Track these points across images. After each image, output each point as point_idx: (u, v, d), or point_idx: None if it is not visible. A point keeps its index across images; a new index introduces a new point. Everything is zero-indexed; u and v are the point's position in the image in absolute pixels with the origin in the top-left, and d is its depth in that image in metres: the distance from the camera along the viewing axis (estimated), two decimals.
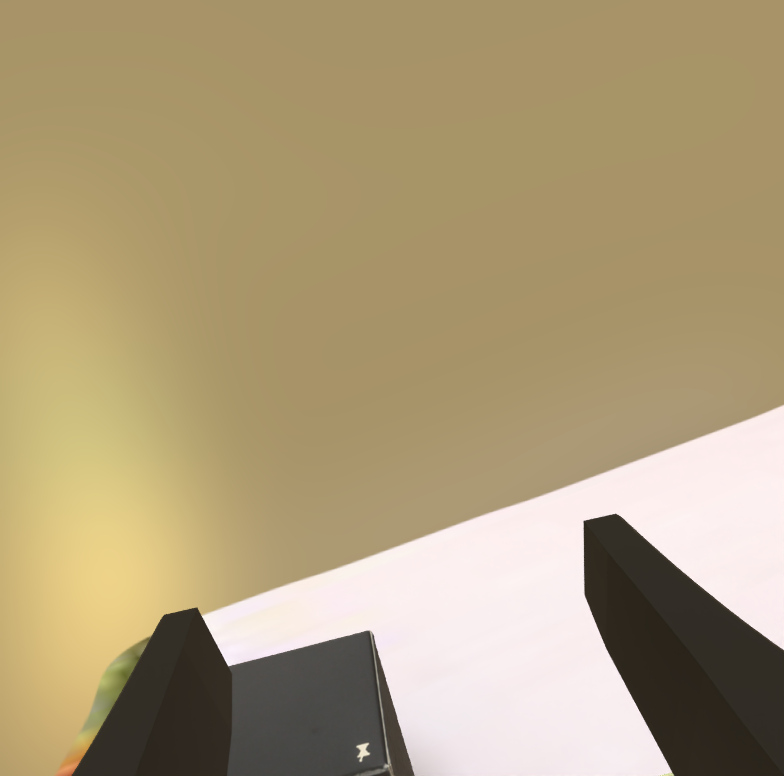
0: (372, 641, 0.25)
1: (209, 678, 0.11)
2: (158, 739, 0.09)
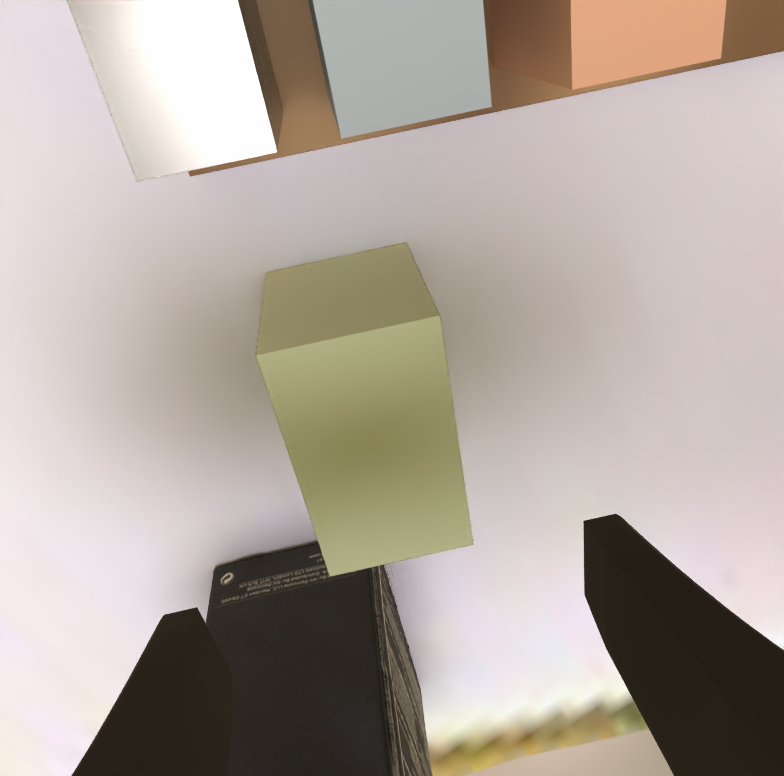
0: None
1: (209, 678, 0.11)
2: (157, 739, 0.09)
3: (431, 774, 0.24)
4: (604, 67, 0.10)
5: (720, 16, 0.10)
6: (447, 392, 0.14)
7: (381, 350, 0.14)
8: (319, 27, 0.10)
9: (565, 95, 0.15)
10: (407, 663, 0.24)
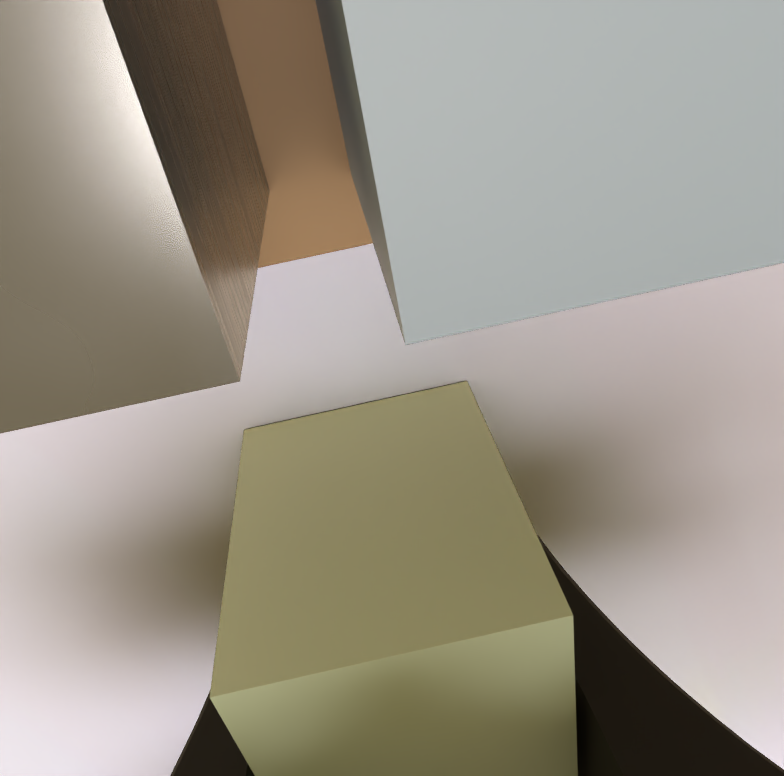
0: None
1: None
2: None
3: None
4: None
5: None
6: (569, 717, 0.08)
7: (454, 672, 0.07)
8: (357, 66, 0.03)
9: None
10: None
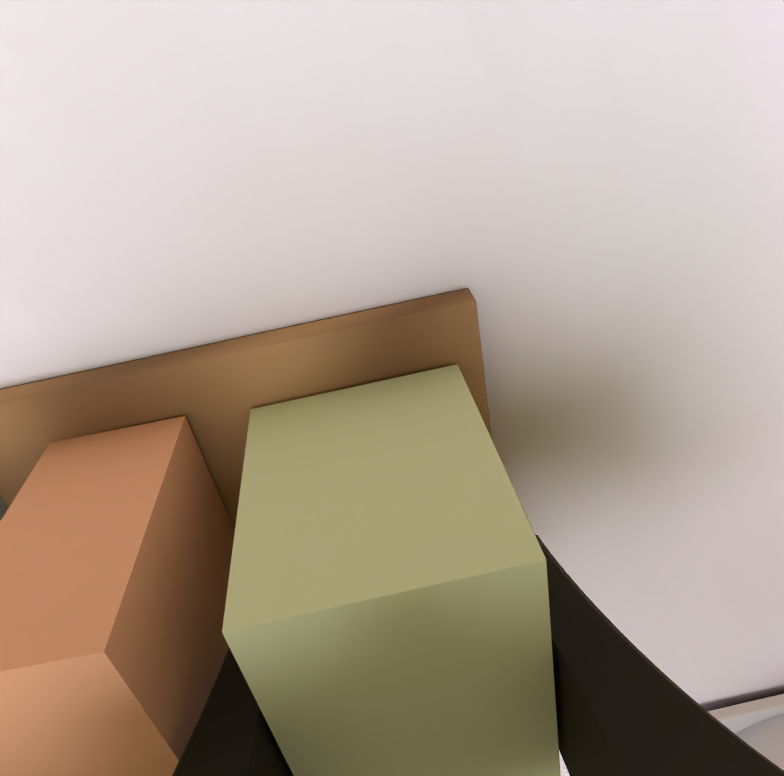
0: None
1: None
2: None
3: None
4: None
5: None
6: (546, 660, 0.09)
7: (441, 612, 0.08)
8: None
9: None
10: None
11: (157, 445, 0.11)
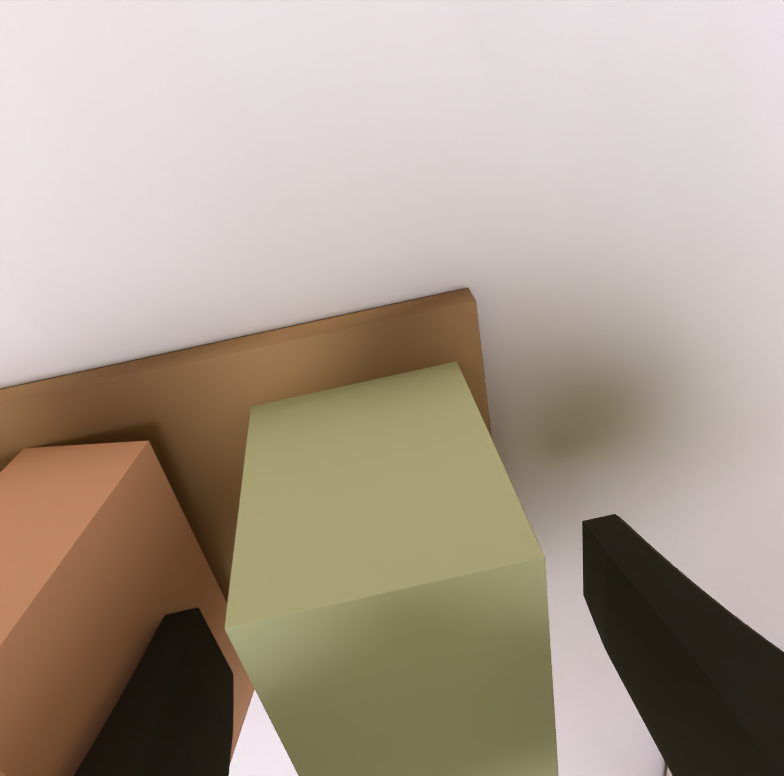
0: None
1: (210, 678, 0.11)
2: (159, 739, 0.09)
3: None
4: None
5: None
6: (545, 655, 0.09)
7: (440, 608, 0.08)
8: None
9: None
10: None
11: (109, 471, 0.11)
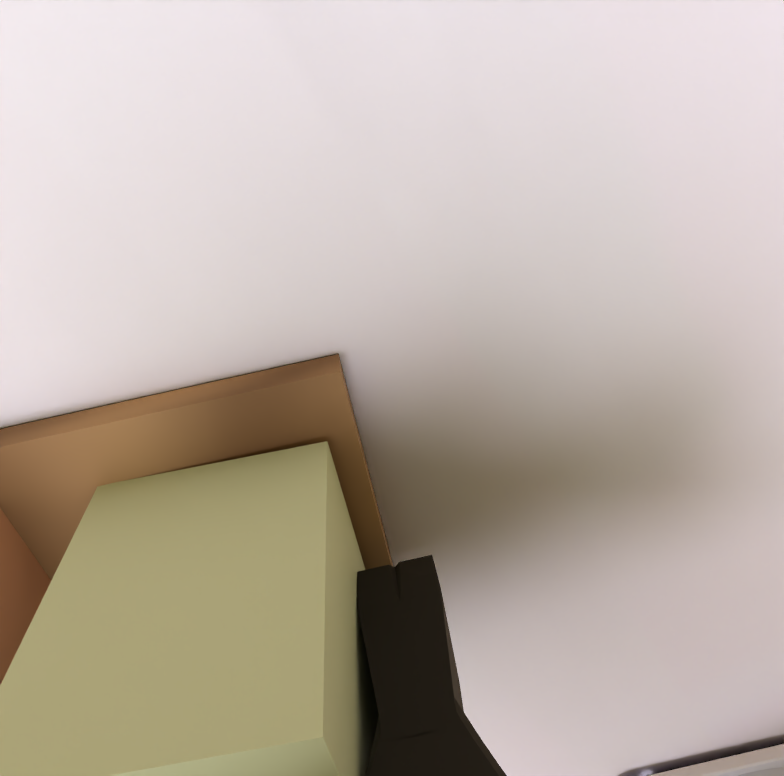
0: None
1: None
2: (452, 672, 0.09)
3: None
4: None
5: None
6: None
7: None
8: None
9: None
10: None
11: None
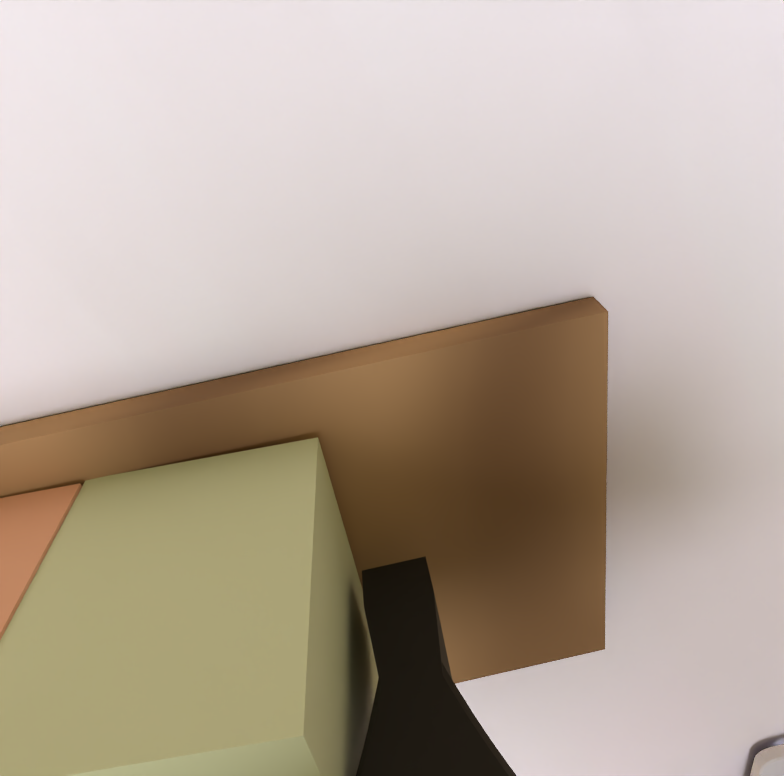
0: None
1: None
2: (443, 674, 0.09)
3: None
4: None
5: None
6: None
7: None
8: None
9: None
10: None
11: (41, 522, 0.10)
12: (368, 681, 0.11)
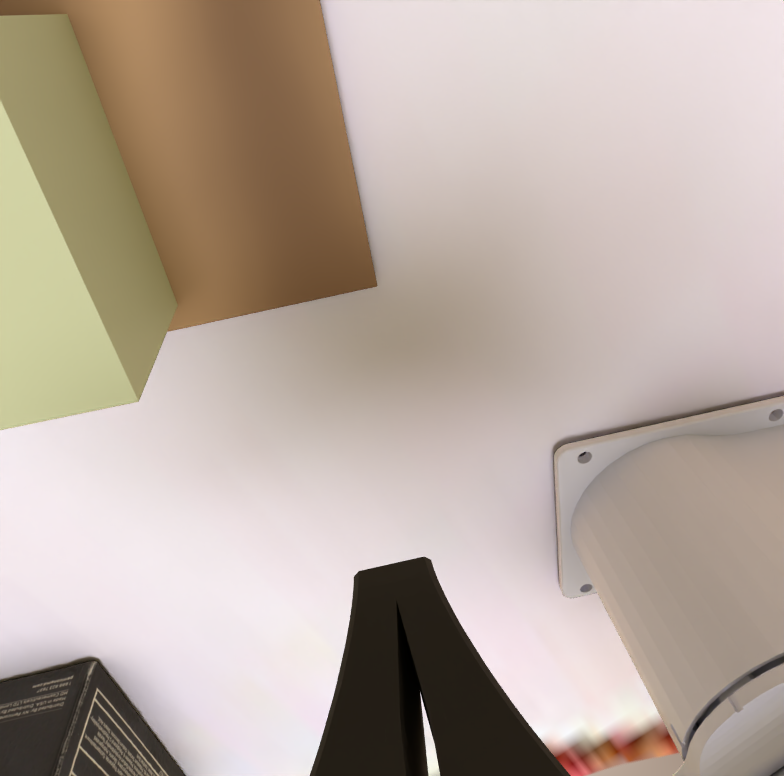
0: None
1: None
2: (401, 684, 0.09)
3: None
4: None
5: None
6: (18, 152, 0.10)
7: None
8: None
9: None
10: (142, 774, 0.26)
11: None
12: (120, 221, 0.14)
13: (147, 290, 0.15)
